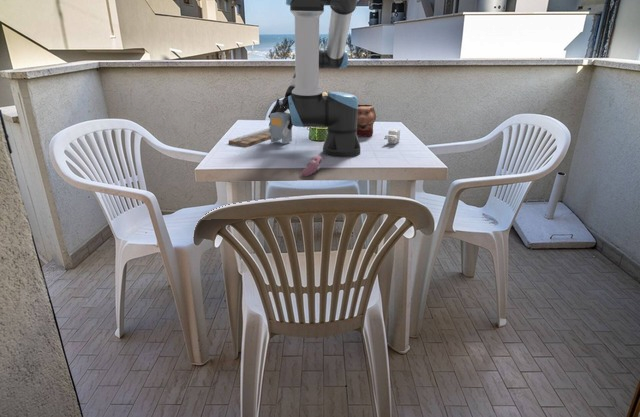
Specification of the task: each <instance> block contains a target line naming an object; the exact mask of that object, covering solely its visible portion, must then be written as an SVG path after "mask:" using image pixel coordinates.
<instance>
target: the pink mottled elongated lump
mask: <svg viewBox="0 0 640 417" xmlns="http://www.w3.org/2000/svg"><path fill="white" fill-rule="evenodd" d="M323 160H324V159H323V157H322V156H320V155H319V156H318V155H316V156H313V157H312V158H311V161H309V162H308V163H307V165H306V167H305V168H303V170H302V171H301V172H300V173H301V176H302V177H308V176H310V175H315V173H316V172H317V171H319V169H320V165H321V163H322V162H323Z"/></svg>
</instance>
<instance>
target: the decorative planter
mask: <svg viewBox="0 0 640 417" xmlns="http://www.w3.org/2000/svg"><path fill="white" fill-rule="evenodd" d="M376 119H377V113H376V110H375V107H374V105H373V104H358V113H357V137H372V136H373V135H374V124H375V122H376Z"/></svg>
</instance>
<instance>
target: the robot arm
mask: <svg viewBox="0 0 640 417" xmlns="http://www.w3.org/2000/svg"><path fill="white" fill-rule="evenodd" d="M357 3H358V0H285V4H286V6H289V7H290V8H289V10H290V11H289V12H290V13H292V14H293V16H294V42H295V43H294V53H295V54H294V55H295V56H294V58H295V60H294V63H295V64H294V65H295V67H294V68H295V70H294V71H295V72H294V74H293V76H292V79H291V80H290V83H289V84H288V87H287V89H286V92H285V94H284V97H283V99H279V98H277V99H276V101H275V104H274V106H273V108H272V109H271V111H270V112H269V114H268V118H269V119H270V114H272V113H276V112H282V113H285V112H287V110H289V113H290V119H289V120H290V121H289V120H288V121H287V123H286V126H285V128H284V130H283V132H282V134H283V135H284V136H285V137H286V136H287V134H288V132H289V130H291V128H292V129H293V126H294V127H299V128H301V127H302V128H306V127H307V128H311V127H312V128H315V127H318V128H319V127H322V128H325V127H327V130H326V132H327V133H326V136H325V138H324V142H323V145H322V153H323V154H324V155H327V156H329V157H334V158H336V157H337V158H348V157H356V156H359V155H360V154H361V144H360V140H359V138H358V137H359V136H357V113H358V105H359V104H358V103H359V101H358V97H357V95H355V94H352V93H346V92H340V91H328V92H327V95H323V90H322V89H321V88H320V86H319V80H320V79H319V74H320V71H319V70H323V69H325V70H328V69H329V70H339V69H346V68H347V67H348V62H349V52H348V51H347V50H346V46H347V45H346V44H347V40H348V35H349V30H350V25H351V20H352V15H353V13H354V12H355V10H356V9H357V5H358V4H357ZM326 6H329V7H330V9H331V12H330V20H329V27H328V36H327V44H326V49H324V50H323V49H320V17H321V15H322V14H323V13H324V12H325V8H324V7H326ZM267 129H268V130H267V132H268V133H269V134H270V135H271V132H270V122H269V124H268V128H267Z"/></svg>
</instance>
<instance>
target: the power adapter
mask: <svg viewBox="0 0 640 417" xmlns="http://www.w3.org/2000/svg"><path fill="white" fill-rule="evenodd" d="M400 136H401V129H399V128H391V129H389V130H388V134H386V135H384V140H387V143H388V144H393V145H396V144H398V143H400V139H401V138H400Z"/></svg>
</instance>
